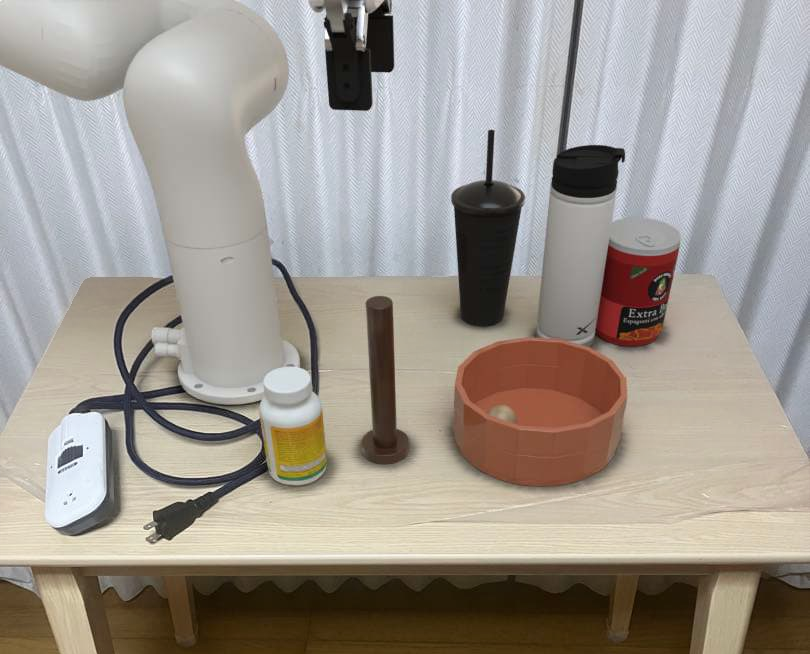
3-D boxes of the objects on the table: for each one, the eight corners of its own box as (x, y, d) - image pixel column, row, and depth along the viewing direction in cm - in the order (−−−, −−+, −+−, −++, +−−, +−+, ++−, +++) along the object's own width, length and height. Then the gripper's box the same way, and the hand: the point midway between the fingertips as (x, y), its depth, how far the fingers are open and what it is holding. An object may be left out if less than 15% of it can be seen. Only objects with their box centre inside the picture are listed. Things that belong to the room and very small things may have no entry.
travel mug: (595, 358, 91) (625, 163, 77) (533, 352, 92) (551, 159, 78) (597, 328, 96) (626, 139, 82) (538, 323, 97) (556, 136, 83)
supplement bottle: (256, 469, 78) (241, 378, 72) (302, 443, 81) (291, 354, 75) (294, 496, 76) (281, 404, 69) (340, 468, 78) (332, 378, 72)
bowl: (445, 478, 77) (446, 423, 73) (463, 385, 88) (465, 332, 84) (618, 493, 75) (629, 437, 71) (615, 396, 86) (624, 342, 82)
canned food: (621, 354, 91) (639, 256, 84) (575, 322, 97) (588, 226, 89) (677, 336, 94) (698, 238, 87) (629, 305, 99) (645, 210, 92)
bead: (481, 400, 79) (512, 399, 78) (493, 412, 82) (523, 411, 80) (477, 431, 79) (508, 430, 77) (489, 442, 81) (519, 441, 80)
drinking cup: (508, 336, 95) (522, 147, 81) (441, 328, 96) (443, 140, 83) (521, 304, 100) (536, 121, 86) (457, 296, 102) (462, 115, 88)
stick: (357, 462, 79) (346, 313, 69) (367, 433, 82) (358, 287, 72) (404, 466, 78) (401, 317, 68) (412, 437, 82) (410, 290, 71)
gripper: (323, -205, 63) (340, 57, 74) (257, -187, 50) (289, 124, 62) (425, -206, 62) (426, 59, 73) (383, -189, 49) (392, 127, 61)
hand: (363, 89), depth 68 cm, fingers open, 9 cm apart
